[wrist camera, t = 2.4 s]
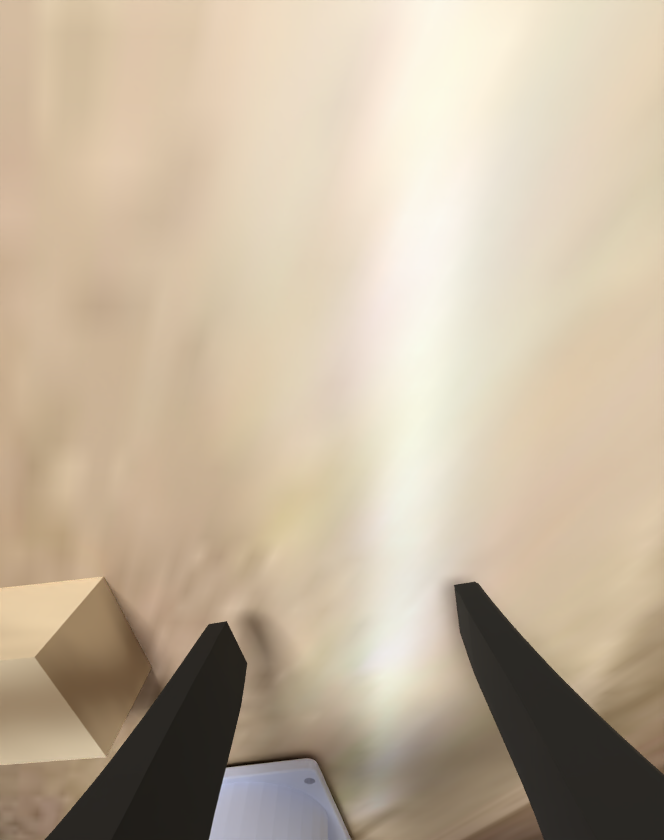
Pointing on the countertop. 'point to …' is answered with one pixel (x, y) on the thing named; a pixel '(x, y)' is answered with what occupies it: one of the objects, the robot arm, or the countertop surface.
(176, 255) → the countertop surface
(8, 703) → the tan rectangular block
